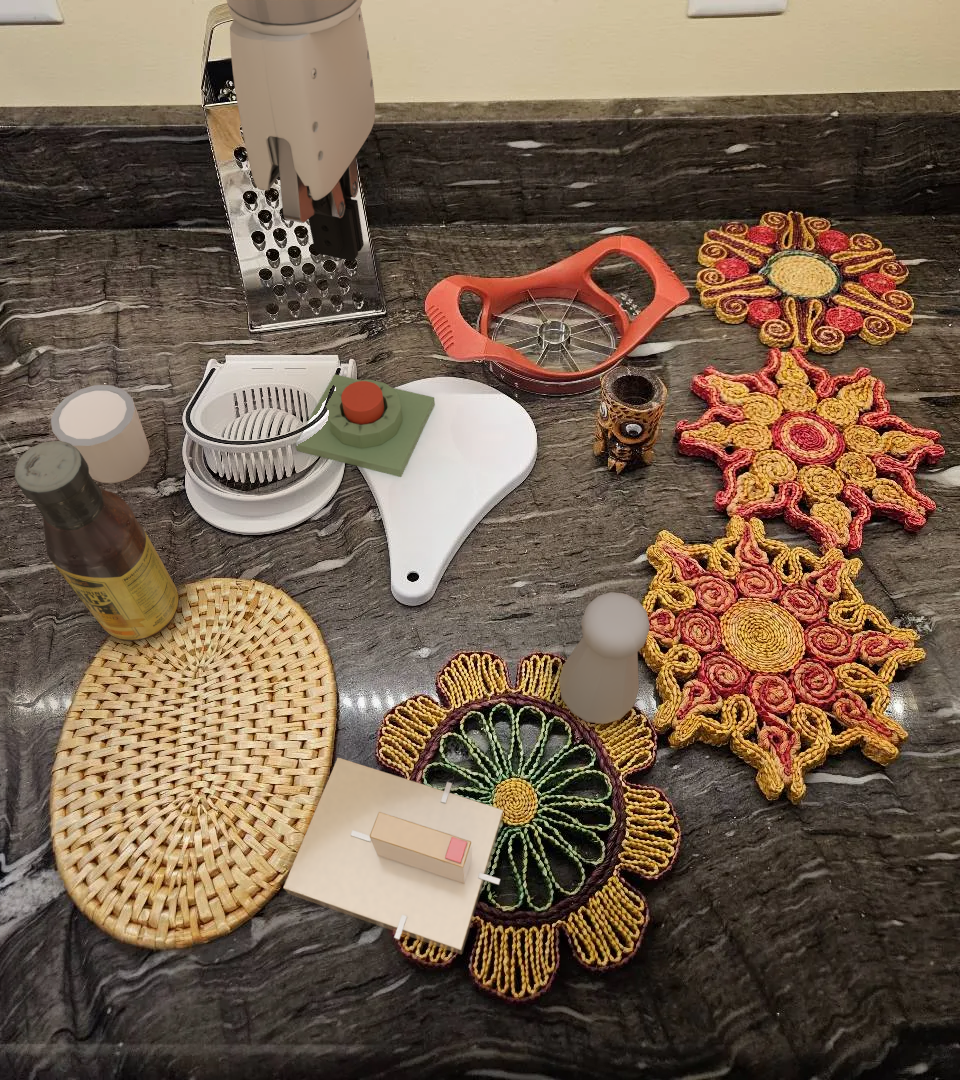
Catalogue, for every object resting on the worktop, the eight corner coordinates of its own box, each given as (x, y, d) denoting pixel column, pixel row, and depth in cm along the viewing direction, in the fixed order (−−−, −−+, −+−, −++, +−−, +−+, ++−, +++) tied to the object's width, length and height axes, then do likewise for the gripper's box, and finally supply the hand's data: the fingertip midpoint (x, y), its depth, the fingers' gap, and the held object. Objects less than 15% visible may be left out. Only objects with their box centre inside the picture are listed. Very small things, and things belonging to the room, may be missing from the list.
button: (337, 419, 76) (334, 405, 74) (353, 390, 78) (350, 377, 76) (375, 428, 75) (373, 415, 74) (390, 399, 77) (388, 386, 76)
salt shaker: (553, 728, 64) (567, 650, 53) (559, 659, 67) (574, 572, 56) (632, 738, 63) (663, 662, 52) (635, 668, 66) (664, 582, 56)
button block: (299, 459, 78) (290, 430, 75) (337, 389, 83) (331, 359, 79) (402, 485, 76) (398, 457, 73) (435, 413, 81) (433, 383, 78)
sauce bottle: (91, 615, 69) (-33, 459, 53) (157, 568, 72) (59, 405, 55) (136, 667, 67) (21, 521, 50) (202, 617, 69) (114, 461, 52)
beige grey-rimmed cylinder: (85, 442, 79) (53, 389, 73) (161, 432, 80) (135, 378, 74) (79, 501, 75) (46, 450, 70) (159, 490, 76) (132, 438, 70)
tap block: (287, 906, 57) (278, 896, 54) (346, 763, 62) (340, 748, 60) (475, 973, 55) (475, 966, 52) (520, 818, 60) (521, 805, 57)
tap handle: (376, 855, 56) (368, 835, 52) (385, 831, 57) (378, 810, 53) (464, 884, 55) (463, 866, 51) (472, 859, 56) (471, 840, 52)
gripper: (285, -91, 52) (332, 182, 67) (163, 30, 44) (247, 308, 59) (402, -76, 50) (422, 199, 66) (297, 52, 43) (348, 330, 58)
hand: (339, 250), depth 63 cm, fingers closed
